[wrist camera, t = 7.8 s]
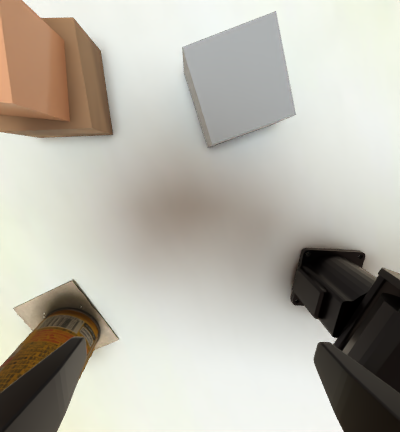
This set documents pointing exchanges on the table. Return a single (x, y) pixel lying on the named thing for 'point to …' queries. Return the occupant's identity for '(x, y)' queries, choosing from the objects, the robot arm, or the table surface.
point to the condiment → (55, 329)
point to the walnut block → (72, 90)
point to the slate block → (239, 80)
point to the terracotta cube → (31, 65)
